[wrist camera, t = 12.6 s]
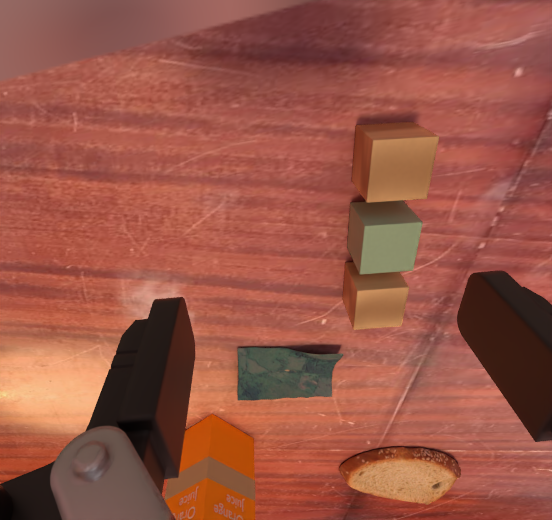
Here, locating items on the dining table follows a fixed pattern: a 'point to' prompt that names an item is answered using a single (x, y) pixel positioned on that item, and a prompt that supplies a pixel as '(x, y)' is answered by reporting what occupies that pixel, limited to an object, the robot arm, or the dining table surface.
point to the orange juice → (214, 474)
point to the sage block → (383, 236)
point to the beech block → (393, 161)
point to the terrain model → (284, 373)
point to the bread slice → (402, 473)
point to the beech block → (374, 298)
